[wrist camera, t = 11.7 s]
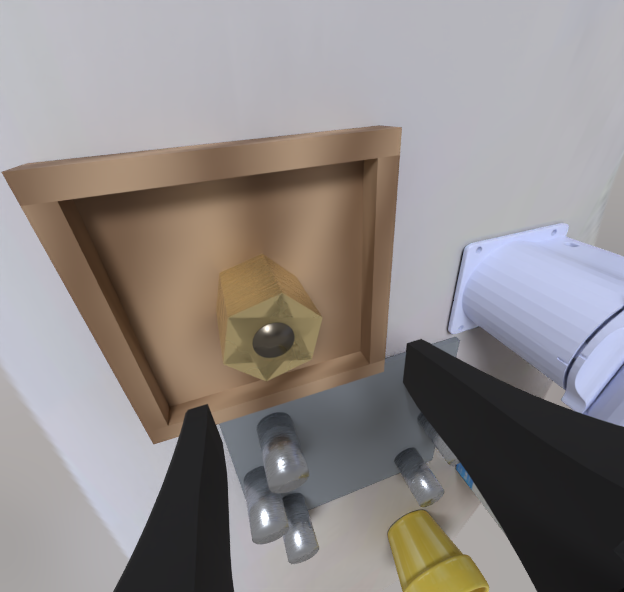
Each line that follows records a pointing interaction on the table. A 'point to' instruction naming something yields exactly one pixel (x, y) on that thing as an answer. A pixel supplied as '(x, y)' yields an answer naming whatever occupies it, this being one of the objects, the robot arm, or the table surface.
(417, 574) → the plant pot
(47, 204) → the tray
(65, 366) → the table surface
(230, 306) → the nut
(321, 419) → the mat
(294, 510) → the spacers
